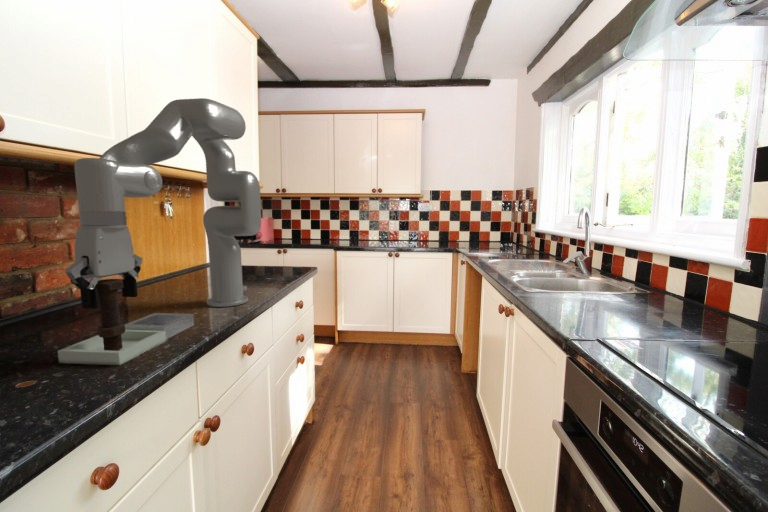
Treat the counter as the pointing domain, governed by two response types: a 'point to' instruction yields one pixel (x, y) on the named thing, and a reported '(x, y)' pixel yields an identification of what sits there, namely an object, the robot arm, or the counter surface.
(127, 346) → the tray
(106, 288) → the bolt
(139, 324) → the grey notched slab
